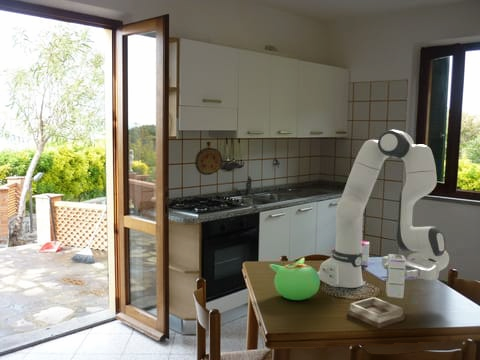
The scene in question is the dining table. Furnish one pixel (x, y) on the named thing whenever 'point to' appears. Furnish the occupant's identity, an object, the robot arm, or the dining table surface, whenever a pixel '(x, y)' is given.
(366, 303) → the socket stand
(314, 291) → the toy bird
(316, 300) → the dining table surface
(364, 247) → the supplement box
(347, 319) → the dining table surface
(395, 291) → the syrup box
